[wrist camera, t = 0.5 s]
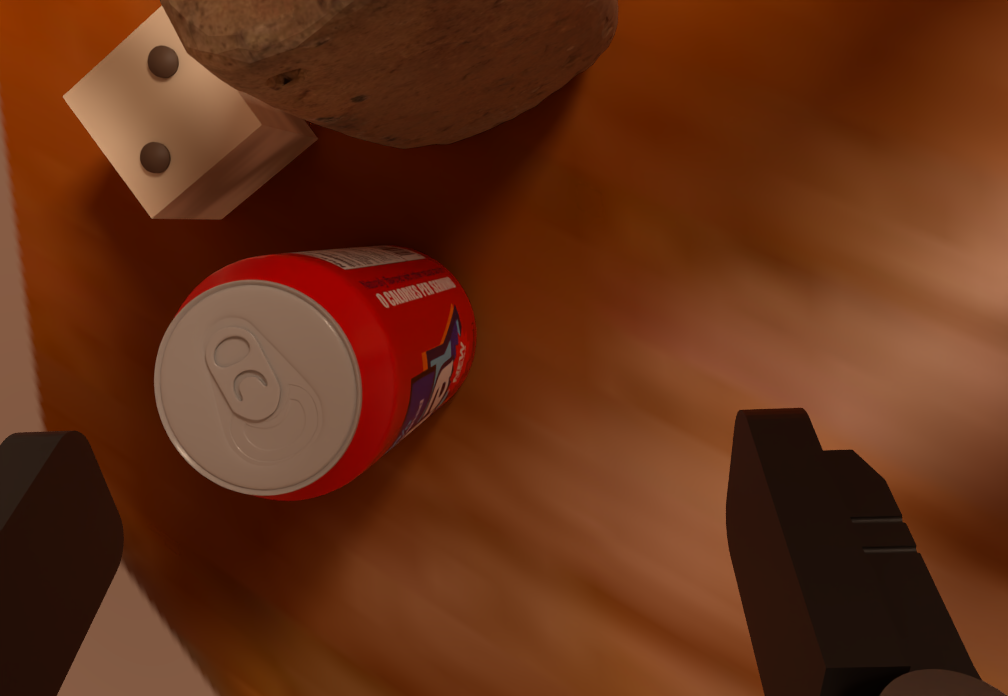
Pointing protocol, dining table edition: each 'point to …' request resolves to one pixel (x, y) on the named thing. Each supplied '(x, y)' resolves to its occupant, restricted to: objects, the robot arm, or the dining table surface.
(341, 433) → the soda can
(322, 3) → the block
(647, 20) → the dining table surface
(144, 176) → the dotted cube two
